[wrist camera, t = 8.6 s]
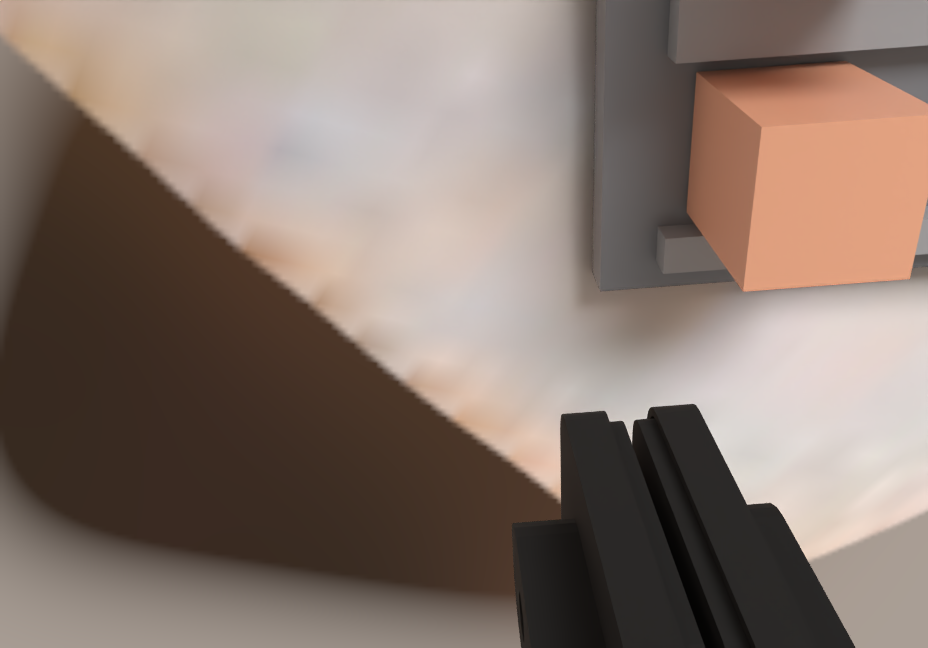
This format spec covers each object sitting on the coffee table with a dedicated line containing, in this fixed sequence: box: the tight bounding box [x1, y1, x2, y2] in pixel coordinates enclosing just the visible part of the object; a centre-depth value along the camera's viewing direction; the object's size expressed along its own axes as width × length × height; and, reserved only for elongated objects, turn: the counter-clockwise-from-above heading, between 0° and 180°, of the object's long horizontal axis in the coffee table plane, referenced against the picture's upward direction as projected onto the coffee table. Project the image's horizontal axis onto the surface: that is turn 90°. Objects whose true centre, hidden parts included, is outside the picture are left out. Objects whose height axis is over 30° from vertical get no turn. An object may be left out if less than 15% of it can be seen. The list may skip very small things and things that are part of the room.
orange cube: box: [686, 61, 928, 292], centre depth 19 cm, size 4×4×4 cm
